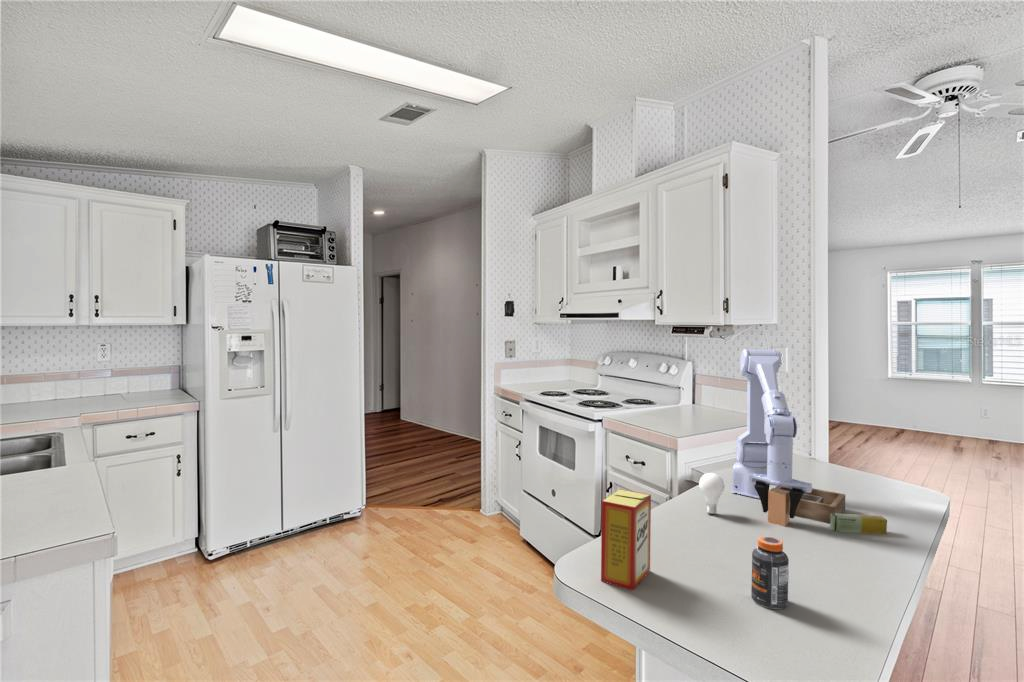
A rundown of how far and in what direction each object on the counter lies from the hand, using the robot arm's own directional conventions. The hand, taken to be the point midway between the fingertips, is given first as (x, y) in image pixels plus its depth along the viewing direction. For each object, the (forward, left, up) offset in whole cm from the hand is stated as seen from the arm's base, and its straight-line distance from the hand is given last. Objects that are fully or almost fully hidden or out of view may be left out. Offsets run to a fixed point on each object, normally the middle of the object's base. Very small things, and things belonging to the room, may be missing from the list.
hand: (778, 514), depth 133 cm
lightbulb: (-15, -6, -2) cm, 16 cm away
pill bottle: (+10, -44, -2) cm, 45 cm away
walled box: (+3, +15, -2) cm, 15 cm away
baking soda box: (-14, -53, -2) cm, 55 cm away
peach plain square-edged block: (0, 0, -2) cm, 2 cm away
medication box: (+16, +7, -2) cm, 18 cm away
